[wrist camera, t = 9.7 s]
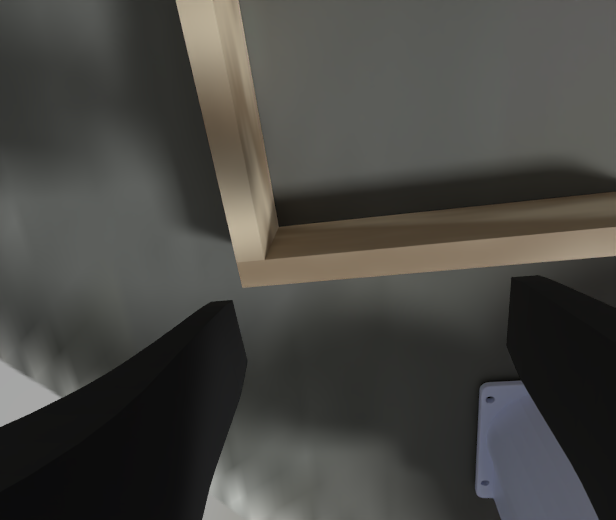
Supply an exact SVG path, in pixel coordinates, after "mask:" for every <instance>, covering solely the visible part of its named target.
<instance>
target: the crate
mask: <svg viewBox="0 0 616 520" xmlns="http://www.w3.org/2000/svg"><path fill="white" fill-rule="evenodd" d="M176 4H177V8H178V12H179V17H180V21H181V25H182V30H183V34H184V38H185V43H186V47H187V51H188V55H189V60H190V64H191V68H192V73H193V77H194V81H195V86H196V90H197V94H198V98H199V103H200V107H201V111H202V116H203V120H204V124H205V129H206V133H207V137H208V141H209V146H210V150H211V154H212V159H213V163H214V167H215V172H216V176H217V180H218V184H219V189H220V193H221V197H222V202H223V206H224V210H225V215H226V219H227V223H228V227H229V232H230V236H231V240H232V245H233V249H234V253H235V258H236V262H237V266H238V270H239V275H240V279H241V283H242V288H244V287H256V286H268V285H280V284H291V283H303V282H315V281H326V280H338V279H350V278H362V277H373V276H385V275H397V274H409V273H420V272H432V271H444V270H455V269H467V268H479V267H491V266H502V265H514V264H526V263H537V262H549V261H561V260H573V259H584V258H596V257H608V256H616V192H607V193H598V194H588V195H578V196H569V197H559V198H550V199H540V200H531V201H521V202H512V203H502V204H493V205H483V206H473V207H464V208H454V209H445V210H435V211H426V212H416V213H407V214H397V215H387V216H378V217H368V218H359V219H349V220H340V221H330V222H321V223H311V224H302V225H292V226H282V227H279V225H278V219H277V214H276V208H275V202H274V197H273V191H272V186H271V180H270V174H269V169H268V163H267V158H266V152H265V146H264V141H263V135H262V130H261V124H260V118H259V113H258V107H257V102H256V96H255V90H254V85H253V79H252V74H251V68H250V62H249V57H248V51H247V45H246V40H245V34H244V29H243V23H242V17H241V12H240V6H239V1H238V0H176Z"/></svg>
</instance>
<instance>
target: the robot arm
mask: <svg viewBox="0 0 616 520" xmlns="http://www.w3.org/2000/svg"><path fill="white" fill-rule="evenodd" d="M506 346H507V348H508V351H509V353H510V355H511V358H512V360H513V363H514V365H515V368H516V370H517V372H518V374H519V377H520V379H521V381H502V382H487V383H484V384H482V385H481V386H480V389H479V411H478V433H477V455H476V477H475V491H476V494H477V495H478V496H479V497H481V498H494V501H495V504H496V507H497V509H498V512H499V515H500V518H501V520H616V308H614V307H612V306H610V305H607V304H605V303H603V302H601V301H598V300H596V299H594V298H592V297H589V296H587V295H585V294H583V293H580V292H578V291H576V290H574V289H571V288H569V287H567V286H564V285H562V284H560V283H557V282H555V281H552V280H550V279H547V278H545V277H541V276H538V275H536V276H523V277H512V278H511V291H510V304H509V318H508V331H507V344H506ZM246 366H247V357H246V353H245V349H244V345H243V341H242V337H241V333H240V329H239V325H238V321H237V317H236V313H235V309H234V305H233V301H232V300H228V301H216V302H210V303H208V304H207V305H205V306H203V307H202V308H200V309H199V310H197V311H196V312H195V313H193V314H192V315H190V316H189V317H188V318H186V319H185V320H184V321H182V322H181V323H180V324H178V325H177V326H176V327H174V328H173V329H172V330H170V331H169V332H167V333H166V334H165V335H163V336H162V337H161V338H159V339H158V340H157V341H155V342H154V343H152V344H151V345H149V346H148V347H146V348H145V349H143V350H142V351H140V352H139V353H138V354H136V355H135V356H133V357H132V358H130V359H129V360H127V361H126V362H124V363H123V364H121V365H120V366H118V367H117V368H115V369H113V370H112V371H110V372H108V373H107V374H105V375H103V376H102V377H100V378H98V379H96V380H95V381H93V382H91V383H89V384H88V385H86V386H84V387H82V388H81V389H79V390H77V391H75V392H73V393H71V394H69V395H67V396H65V397H63V398H61V399H59V400H57V401H55V402H53V403H51V404H49V405H47V406H45V407H43V408H41V409H39V410H37V411H35V412H33V413H31V414H29V415H26V416H24V417H22V418H20V419H18V420H15V421H13V422H11V423H9V424H6V425H4V426H2V427H0V520H202V518H203V513H204V509H205V505H206V501H207V496H208V492H209V488H210V485H211V482H212V478H213V475H214V472H215V469H216V466H217V463H218V460H219V457H220V454H221V451H222V448H223V446H224V443H225V440H226V437H227V434H228V431H229V428H230V425H231V423H232V420H233V417H234V414H235V411H236V408H237V405H238V402H239V399H240V396H241V392H242V387H243V382H244V377H245V372H246ZM490 396H491V398H487V397H490Z"/></svg>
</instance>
